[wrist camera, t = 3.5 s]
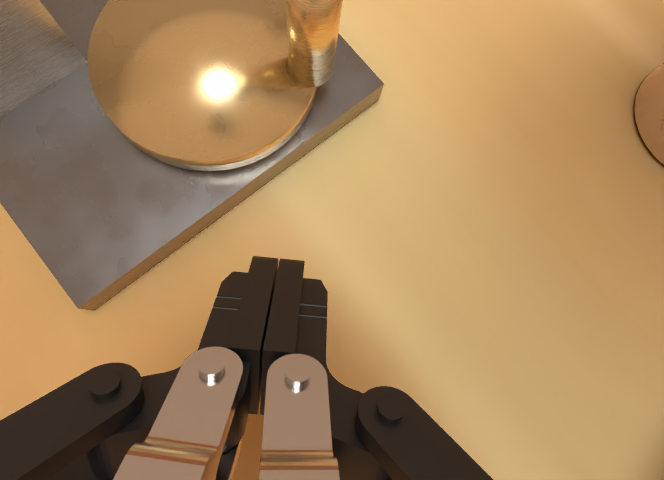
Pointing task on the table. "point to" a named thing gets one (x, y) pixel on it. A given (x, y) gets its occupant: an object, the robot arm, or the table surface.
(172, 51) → the brass dish with post
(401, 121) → the table surface
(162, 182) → the base
